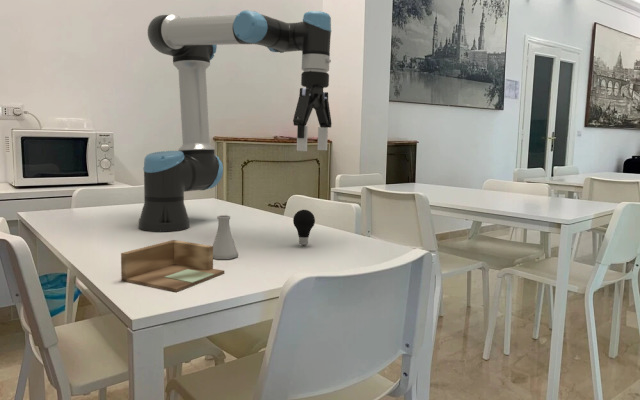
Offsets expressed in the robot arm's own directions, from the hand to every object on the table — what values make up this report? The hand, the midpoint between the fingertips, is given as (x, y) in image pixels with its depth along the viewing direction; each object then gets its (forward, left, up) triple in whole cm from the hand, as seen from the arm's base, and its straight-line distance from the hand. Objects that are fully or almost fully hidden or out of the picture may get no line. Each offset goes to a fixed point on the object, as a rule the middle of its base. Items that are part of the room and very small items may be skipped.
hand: (312, 150), depth 139 cm
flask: (-10, -27, -26) cm, 39 cm away
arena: (-8, -47, -26) cm, 54 cm away
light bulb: (+1, -6, -26) cm, 27 cm away
